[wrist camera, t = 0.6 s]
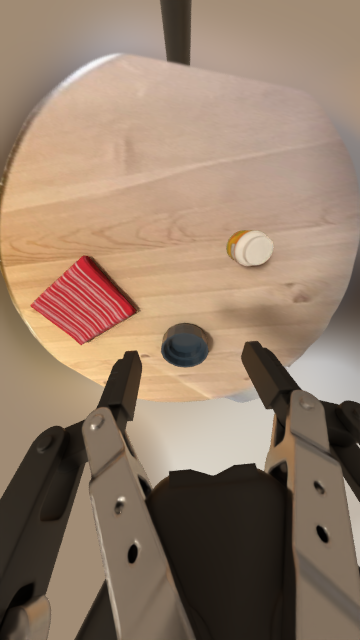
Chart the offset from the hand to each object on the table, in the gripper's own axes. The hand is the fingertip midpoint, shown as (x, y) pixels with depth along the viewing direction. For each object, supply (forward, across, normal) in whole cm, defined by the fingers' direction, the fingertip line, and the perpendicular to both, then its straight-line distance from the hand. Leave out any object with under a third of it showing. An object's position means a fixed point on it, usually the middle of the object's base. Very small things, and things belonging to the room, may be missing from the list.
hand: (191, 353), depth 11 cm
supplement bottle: (+25, -13, -3) cm, 29 cm away
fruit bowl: (+25, -1, +22) cm, 33 cm away
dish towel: (+28, +25, +10) cm, 39 cm away
